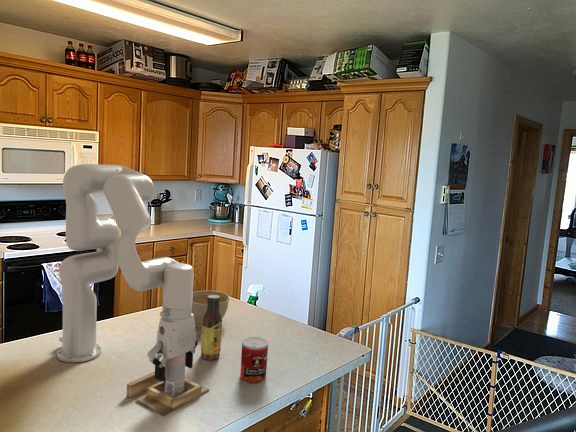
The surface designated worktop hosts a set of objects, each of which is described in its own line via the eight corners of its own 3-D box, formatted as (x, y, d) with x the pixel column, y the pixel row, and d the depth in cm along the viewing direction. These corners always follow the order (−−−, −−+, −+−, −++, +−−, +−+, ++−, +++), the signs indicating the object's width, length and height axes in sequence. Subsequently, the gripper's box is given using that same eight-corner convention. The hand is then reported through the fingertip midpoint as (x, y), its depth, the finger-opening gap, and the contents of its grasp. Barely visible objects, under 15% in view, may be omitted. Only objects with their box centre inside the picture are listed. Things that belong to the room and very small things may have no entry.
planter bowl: (183, 317, 177) (184, 290, 176) (224, 316, 182) (225, 290, 181) (186, 333, 162) (187, 304, 161) (231, 331, 167) (232, 303, 165)
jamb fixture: (126, 396, 119) (127, 383, 118) (173, 374, 132) (173, 362, 132) (163, 416, 111) (164, 402, 110) (208, 390, 124) (209, 378, 124)
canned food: (242, 385, 129) (244, 348, 127) (238, 371, 136) (240, 337, 135) (268, 383, 131) (271, 347, 129) (262, 370, 138) (265, 336, 137)
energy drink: (175, 386, 124) (177, 345, 122) (188, 394, 121) (189, 351, 119) (159, 393, 120) (160, 350, 118) (171, 401, 117) (173, 357, 115)
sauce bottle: (216, 361, 142) (219, 301, 139) (197, 358, 143) (200, 298, 140) (223, 353, 148) (226, 295, 145) (205, 350, 149) (208, 292, 147)
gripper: (160, 324, 108) (157, 390, 110) (210, 307, 123) (207, 366, 125) (140, 315, 112) (137, 380, 115) (191, 300, 127) (187, 357, 129)
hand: (173, 372), depth 120 cm, fingers open, 9 cm apart
